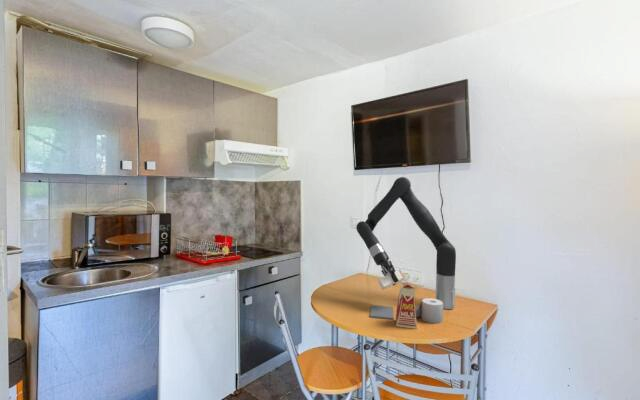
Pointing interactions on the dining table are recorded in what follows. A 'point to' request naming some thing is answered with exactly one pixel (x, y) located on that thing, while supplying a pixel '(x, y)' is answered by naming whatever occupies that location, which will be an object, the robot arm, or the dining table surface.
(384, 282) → the block
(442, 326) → the dining table surface
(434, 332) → the dining table surface
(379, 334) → the dining table surface
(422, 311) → the toilet tissue
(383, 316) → the mat
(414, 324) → the milk carton
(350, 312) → the dining table surface
